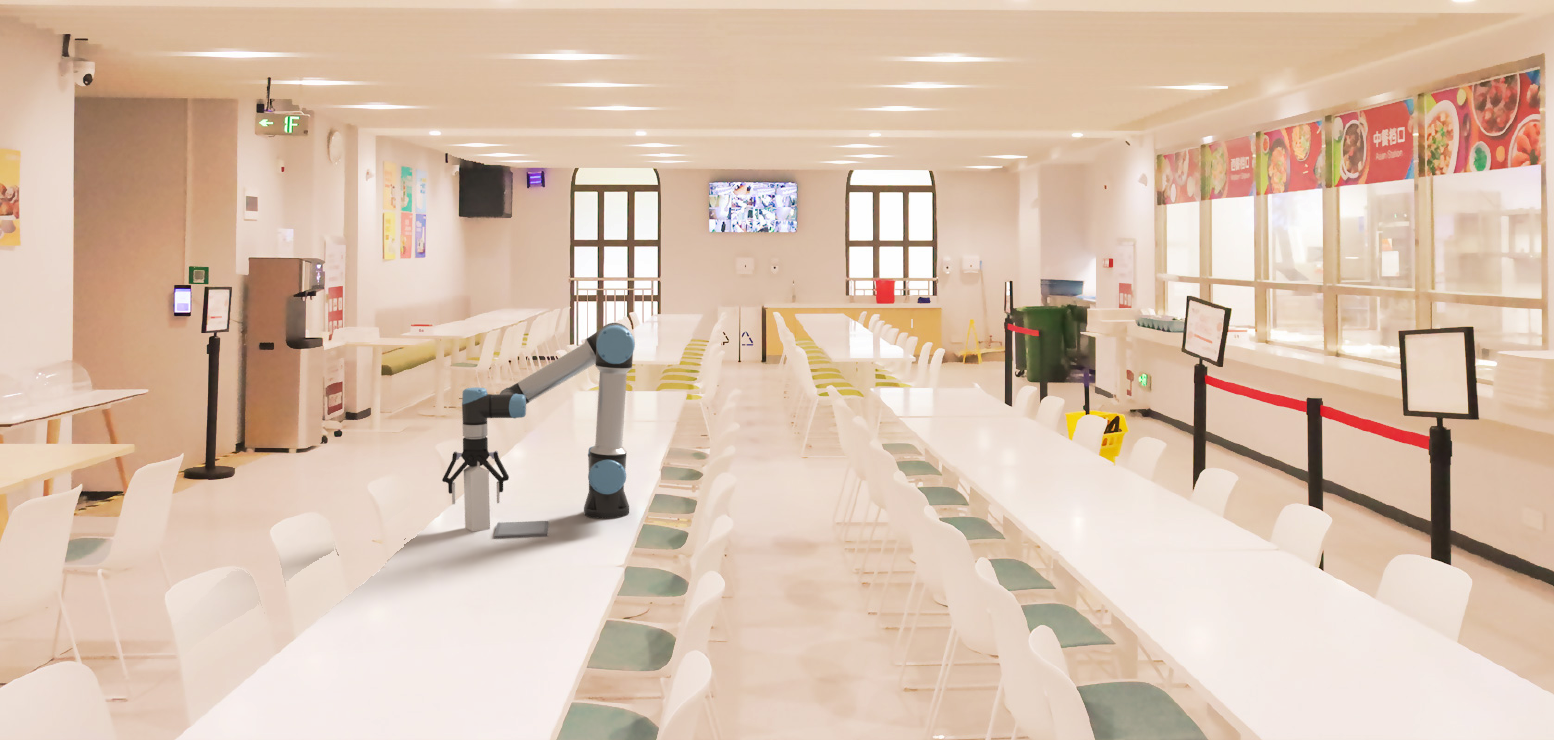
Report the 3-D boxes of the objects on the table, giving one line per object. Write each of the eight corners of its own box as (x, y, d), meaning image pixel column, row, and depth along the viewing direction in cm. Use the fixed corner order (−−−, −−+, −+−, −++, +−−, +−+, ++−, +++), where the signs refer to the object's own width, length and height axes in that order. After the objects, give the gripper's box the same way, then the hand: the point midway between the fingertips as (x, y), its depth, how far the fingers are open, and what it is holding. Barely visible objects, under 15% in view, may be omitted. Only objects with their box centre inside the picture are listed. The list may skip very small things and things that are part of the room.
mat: (548, 523, 352) (548, 520, 352) (547, 536, 336) (547, 533, 336) (497, 525, 349) (497, 522, 349) (494, 538, 333) (494, 535, 333)
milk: (472, 532, 341) (469, 463, 338) (465, 528, 345) (462, 460, 343) (490, 529, 344) (488, 460, 342) (483, 525, 349) (481, 457, 346)
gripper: (516, 434, 347) (517, 499, 350) (435, 435, 343) (436, 501, 345) (515, 438, 340) (516, 504, 342) (432, 439, 335) (433, 506, 338)
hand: (476, 503), depth 344 cm, fingers open, 13 cm apart
